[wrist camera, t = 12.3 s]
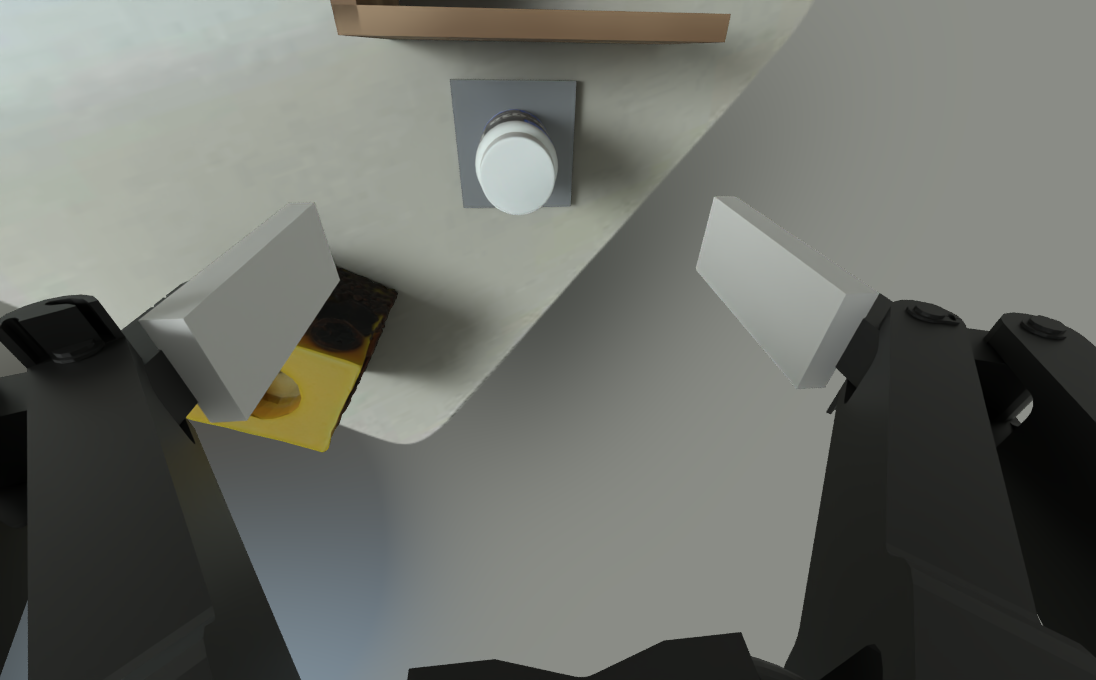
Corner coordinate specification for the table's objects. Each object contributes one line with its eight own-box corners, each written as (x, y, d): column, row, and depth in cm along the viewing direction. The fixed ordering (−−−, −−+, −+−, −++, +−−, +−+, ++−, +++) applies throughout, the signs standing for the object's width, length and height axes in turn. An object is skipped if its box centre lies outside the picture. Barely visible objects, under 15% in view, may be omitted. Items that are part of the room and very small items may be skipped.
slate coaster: (450, 79, 26) (449, 79, 25) (575, 80, 26) (576, 81, 26) (464, 205, 31) (463, 207, 30) (569, 203, 31) (570, 206, 31)
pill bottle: (554, 114, 27) (571, 136, 20) (543, 186, 30) (555, 227, 23) (482, 101, 26) (474, 120, 19) (478, 177, 29) (470, 217, 22)
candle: (400, 289, 34) (368, 364, 26) (366, 372, 39) (330, 457, 31) (266, 235, 31) (181, 302, 23) (247, 333, 35) (171, 418, 27)
